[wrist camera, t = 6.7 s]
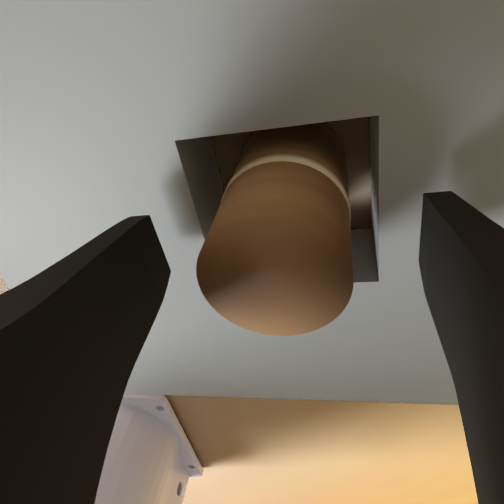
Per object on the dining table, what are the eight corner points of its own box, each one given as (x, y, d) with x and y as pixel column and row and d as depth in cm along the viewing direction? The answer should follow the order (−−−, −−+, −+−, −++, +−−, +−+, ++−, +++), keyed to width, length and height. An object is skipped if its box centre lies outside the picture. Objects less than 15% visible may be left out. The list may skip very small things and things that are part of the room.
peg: (349, 209, 15) (357, 336, 10) (250, 216, 15) (215, 336, 11) (344, 107, 13) (351, 207, 8) (230, 122, 13) (175, 220, 9)
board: (585, 343, 17) (626, 409, 14) (108, 343, 22) (81, 392, 19) (927, -430, 6) (1282, -650, 4) (-138, -86, 11) (-260, -91, 9)
